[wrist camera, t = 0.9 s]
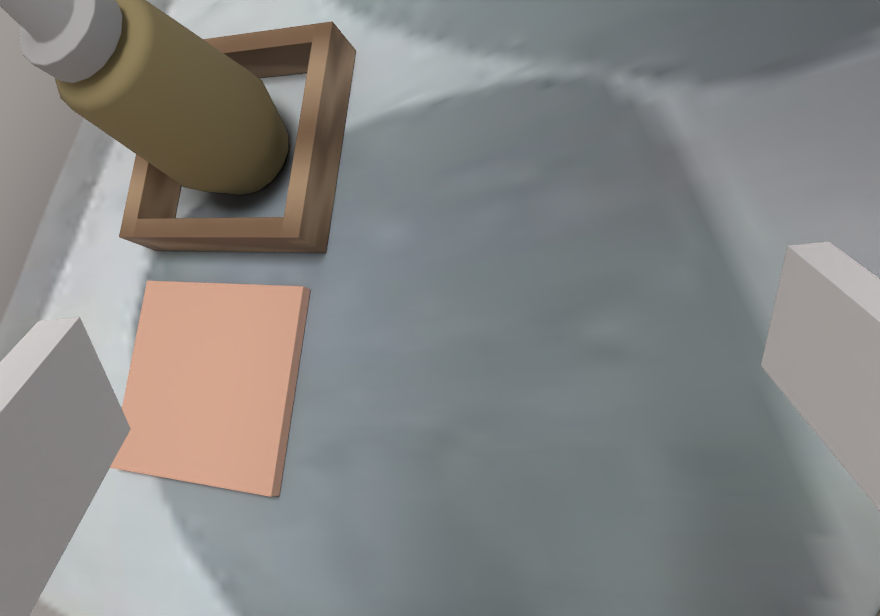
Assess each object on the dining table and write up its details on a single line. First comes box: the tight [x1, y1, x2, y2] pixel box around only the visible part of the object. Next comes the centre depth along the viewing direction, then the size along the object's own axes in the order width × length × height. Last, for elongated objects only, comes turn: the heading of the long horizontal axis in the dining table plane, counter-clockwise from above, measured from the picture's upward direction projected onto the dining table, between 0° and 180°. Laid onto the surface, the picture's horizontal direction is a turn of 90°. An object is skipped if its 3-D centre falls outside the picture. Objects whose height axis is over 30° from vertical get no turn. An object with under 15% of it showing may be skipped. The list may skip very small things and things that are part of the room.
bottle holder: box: [119, 22, 356, 253], centre depth 40 cm, size 13×13×3 cm
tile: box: [110, 281, 310, 497], centre depth 39 cm, size 12×12×1 cm
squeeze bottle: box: [0, 0, 288, 195], centre depth 33 cm, size 8×8×18 cm
